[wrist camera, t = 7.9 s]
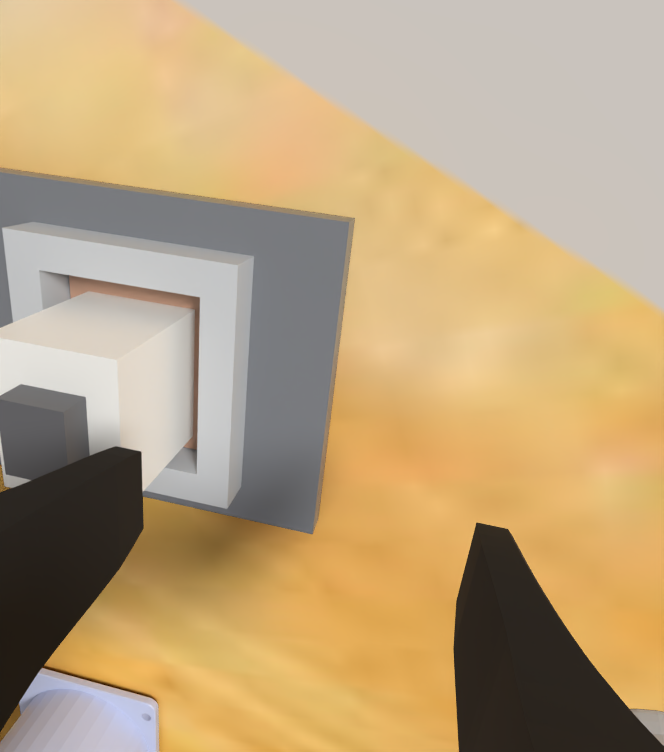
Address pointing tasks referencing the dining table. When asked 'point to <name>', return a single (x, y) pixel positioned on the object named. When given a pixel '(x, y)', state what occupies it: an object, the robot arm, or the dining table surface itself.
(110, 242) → the socket dock
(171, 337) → the plug
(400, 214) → the dining table surface
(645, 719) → the glass holder
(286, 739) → the dining table surface
